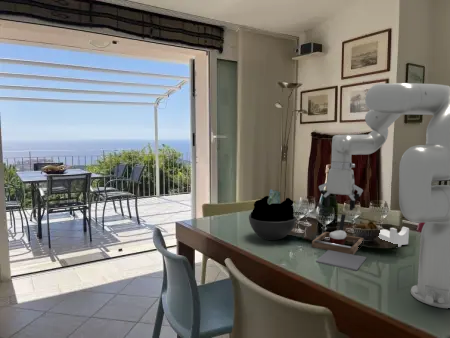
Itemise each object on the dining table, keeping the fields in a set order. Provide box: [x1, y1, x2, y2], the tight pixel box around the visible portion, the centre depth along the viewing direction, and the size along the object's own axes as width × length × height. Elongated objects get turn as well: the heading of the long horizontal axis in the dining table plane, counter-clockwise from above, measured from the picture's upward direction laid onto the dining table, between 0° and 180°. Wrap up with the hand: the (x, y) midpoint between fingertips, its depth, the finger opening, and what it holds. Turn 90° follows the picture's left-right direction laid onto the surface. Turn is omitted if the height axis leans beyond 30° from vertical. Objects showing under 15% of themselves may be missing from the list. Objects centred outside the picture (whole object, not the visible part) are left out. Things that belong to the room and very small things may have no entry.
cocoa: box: [329, 213, 347, 245], centre depth 140 cm, size 10×6×12 cm, turn 115°
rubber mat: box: [315, 250, 367, 272], centre depth 124 cm, size 14×14×1 cm
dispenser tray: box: [311, 231, 364, 255], centre depth 140 cm, size 16×16×3 cm
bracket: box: [378, 226, 410, 248], centre depth 145 cm, size 13×7×8 cm, turn 17°
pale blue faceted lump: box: [267, 189, 281, 205], centre depth 187 cm, size 18×20×18 cm
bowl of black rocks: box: [248, 195, 297, 241], centre depth 148 cm, size 20×20×19 cm
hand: (339, 208), depth 139 cm, fingers open, 9 cm apart
